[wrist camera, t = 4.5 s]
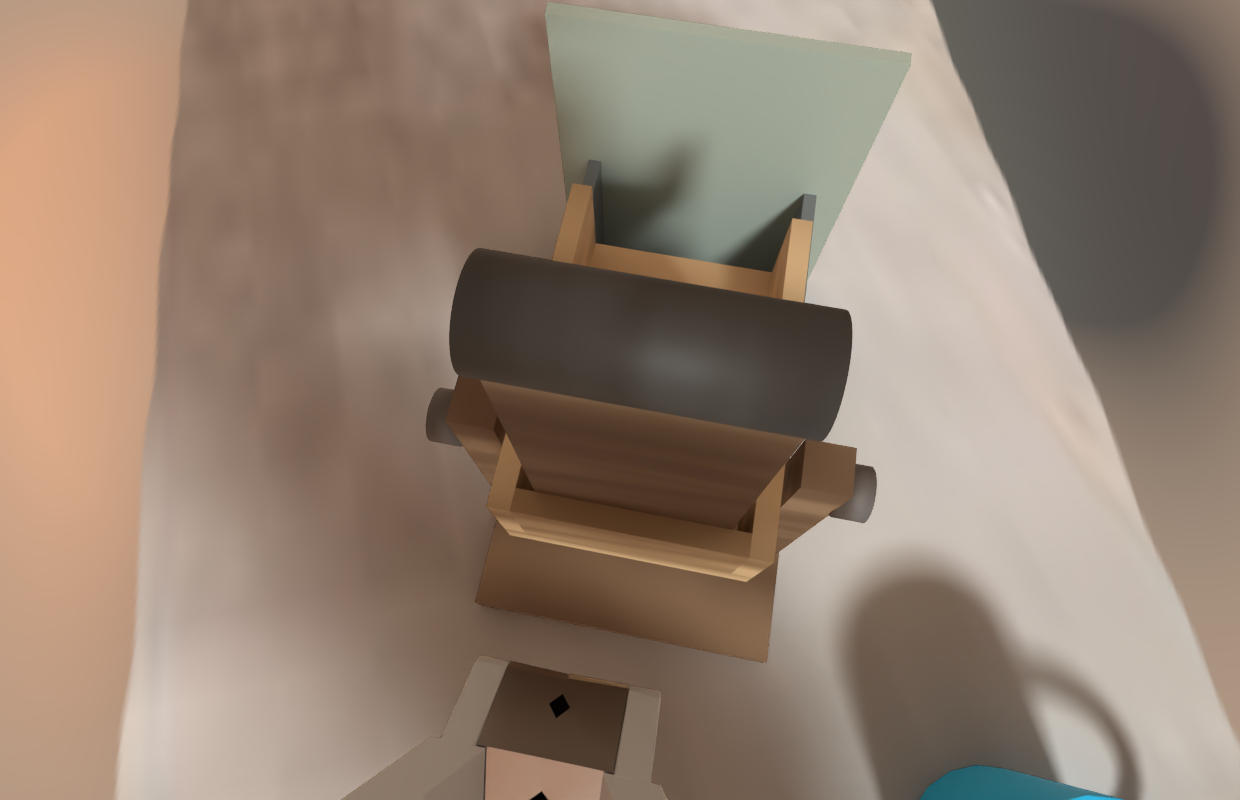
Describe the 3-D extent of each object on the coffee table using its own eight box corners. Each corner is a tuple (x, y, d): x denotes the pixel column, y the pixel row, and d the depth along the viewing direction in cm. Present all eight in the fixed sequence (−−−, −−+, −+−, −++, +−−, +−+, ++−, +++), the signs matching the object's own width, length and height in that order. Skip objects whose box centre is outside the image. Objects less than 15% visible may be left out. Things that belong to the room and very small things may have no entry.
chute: (762, 590, 22) (1001, 458, 8) (494, 537, 22) (293, 331, 9) (795, 310, 25) (1000, -112, 12) (563, 271, 26) (498, -174, 12)
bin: (785, 456, 37) (895, 313, 22) (530, 408, 38) (471, 242, 23) (805, 276, 41) (911, 53, 26) (574, 238, 42) (548, 1, 27)
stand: (763, 663, 33) (878, 658, 19) (477, 604, 34) (367, 554, 20) (786, 465, 37) (897, 327, 22) (526, 417, 38) (464, 254, 23)
